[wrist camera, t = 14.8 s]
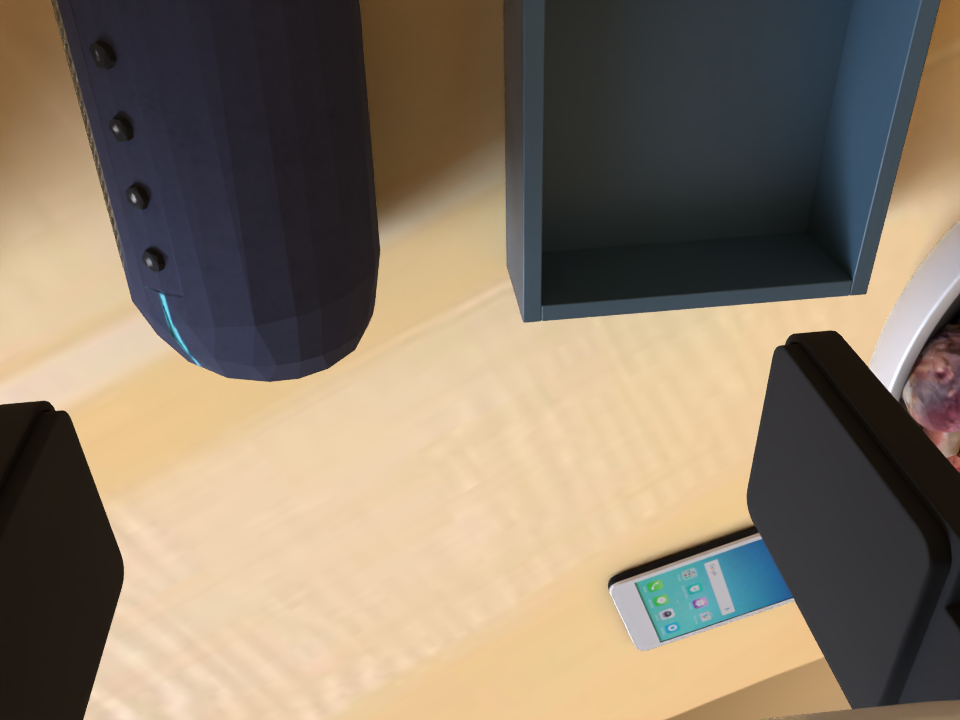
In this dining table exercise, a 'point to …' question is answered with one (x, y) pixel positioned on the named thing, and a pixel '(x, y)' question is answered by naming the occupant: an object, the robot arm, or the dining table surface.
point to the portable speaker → (234, 172)
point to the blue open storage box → (702, 148)
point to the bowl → (927, 347)
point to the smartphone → (698, 590)
